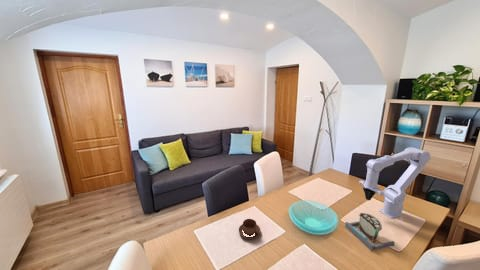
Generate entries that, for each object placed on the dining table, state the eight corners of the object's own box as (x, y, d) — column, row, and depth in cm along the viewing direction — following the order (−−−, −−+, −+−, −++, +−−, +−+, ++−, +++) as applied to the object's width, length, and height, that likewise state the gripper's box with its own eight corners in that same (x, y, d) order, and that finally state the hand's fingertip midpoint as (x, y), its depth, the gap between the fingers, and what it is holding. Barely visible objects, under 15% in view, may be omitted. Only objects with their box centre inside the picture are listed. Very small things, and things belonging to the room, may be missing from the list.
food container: (385, 243, 96) (388, 227, 93) (374, 245, 95) (377, 228, 93) (366, 226, 108) (369, 211, 105) (356, 227, 107) (359, 212, 105)
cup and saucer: (262, 227, 108) (262, 218, 106) (257, 243, 97) (257, 233, 95) (242, 223, 111) (242, 214, 110) (235, 238, 100) (235, 228, 99)
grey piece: (365, 222, 111) (366, 217, 110) (394, 245, 95) (395, 239, 94) (345, 226, 108) (345, 221, 107) (371, 251, 92) (372, 244, 91)
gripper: (356, 174, 119) (353, 194, 122) (377, 186, 105) (373, 207, 108) (365, 173, 120) (362, 192, 123) (387, 184, 106) (383, 205, 110)
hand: (368, 199), depth 116 cm, fingers closed
